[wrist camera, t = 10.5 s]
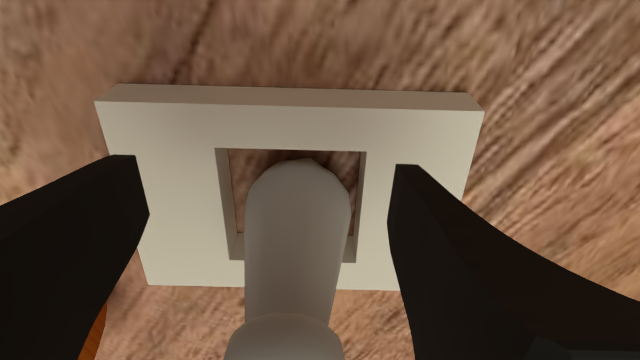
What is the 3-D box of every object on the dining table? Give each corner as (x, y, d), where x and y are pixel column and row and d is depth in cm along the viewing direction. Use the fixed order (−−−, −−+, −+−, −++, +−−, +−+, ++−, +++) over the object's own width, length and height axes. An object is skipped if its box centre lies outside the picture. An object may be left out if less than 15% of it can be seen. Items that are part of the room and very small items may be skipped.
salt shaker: (331, 234, 25) (337, 464, 14) (243, 213, 25) (179, 441, 14) (362, 158, 22) (399, 376, 11) (264, 131, 22) (202, 339, 11)
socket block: (162, 256, 27) (148, 284, 24) (117, 83, 20) (93, 101, 18) (428, 262, 27) (437, 291, 25) (468, 92, 20) (484, 111, 18)
